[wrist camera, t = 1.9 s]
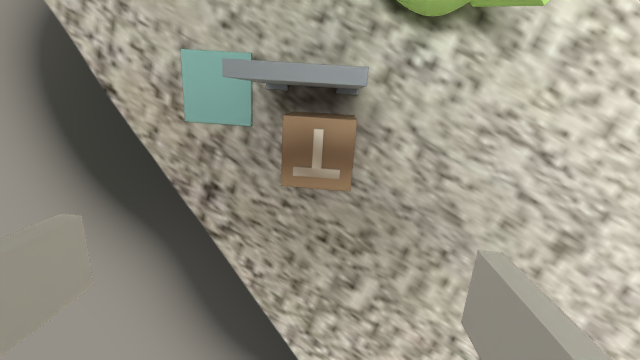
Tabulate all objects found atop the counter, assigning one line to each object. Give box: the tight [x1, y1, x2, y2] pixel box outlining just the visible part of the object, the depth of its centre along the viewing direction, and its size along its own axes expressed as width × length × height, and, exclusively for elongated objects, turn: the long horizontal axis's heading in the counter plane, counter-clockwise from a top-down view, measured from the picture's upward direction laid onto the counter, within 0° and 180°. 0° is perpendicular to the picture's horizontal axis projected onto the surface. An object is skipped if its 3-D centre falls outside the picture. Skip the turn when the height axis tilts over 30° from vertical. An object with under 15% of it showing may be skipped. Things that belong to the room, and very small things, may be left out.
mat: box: [181, 49, 252, 126], centre depth 34 cm, size 8×8×1 cm
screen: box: [222, 58, 369, 95], centre depth 27 cm, size 2×10×14 cm, turn 86°
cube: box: [281, 111, 357, 191], centre depth 32 cm, size 7×7×7 cm
